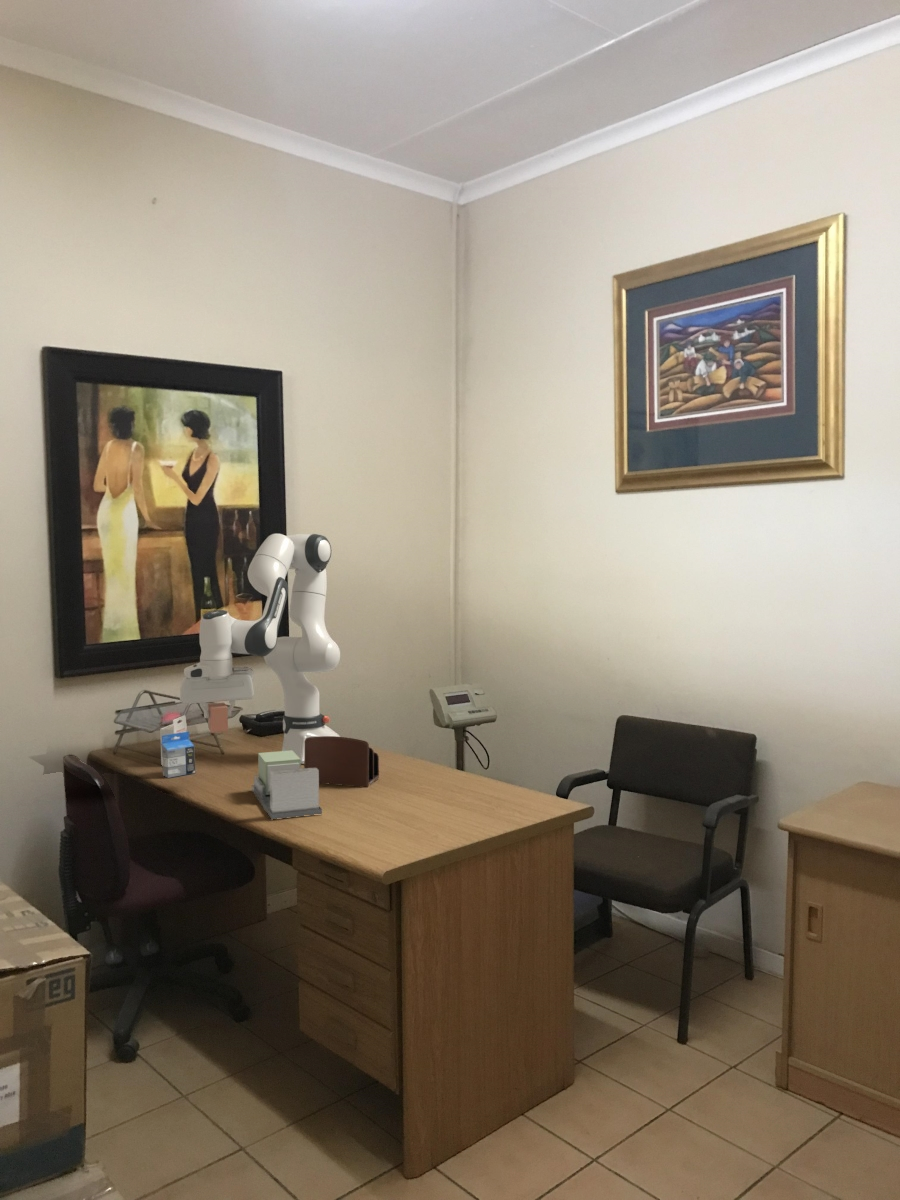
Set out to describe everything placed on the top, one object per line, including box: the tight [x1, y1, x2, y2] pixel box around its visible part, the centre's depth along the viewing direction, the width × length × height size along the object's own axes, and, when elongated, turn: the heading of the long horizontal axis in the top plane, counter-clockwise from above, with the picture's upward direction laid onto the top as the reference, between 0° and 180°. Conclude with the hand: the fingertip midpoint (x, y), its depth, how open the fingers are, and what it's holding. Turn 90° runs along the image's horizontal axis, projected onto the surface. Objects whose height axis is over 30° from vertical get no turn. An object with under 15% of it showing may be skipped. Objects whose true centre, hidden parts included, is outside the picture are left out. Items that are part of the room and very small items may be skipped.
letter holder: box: [303, 736, 380, 788], centre depth 276 cm, size 10×20×14 cm, turn 76°
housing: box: [207, 701, 229, 734], centre depth 266 cm, size 4×7×7 cm, turn 21°
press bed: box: [251, 768, 323, 820], centre depth 254 cm, size 29×13×12 cm, turn 21°
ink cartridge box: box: [159, 714, 188, 765], centre depth 295 cm, size 9×5×15 cm, turn 168°
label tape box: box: [161, 730, 196, 779], centre depth 282 cm, size 9×4×12 cm, turn 131°
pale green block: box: [257, 750, 302, 795], centre depth 261 cm, size 12×10×9 cm
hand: (217, 716), depth 266 cm, fingers closed on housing, 4 cm apart
